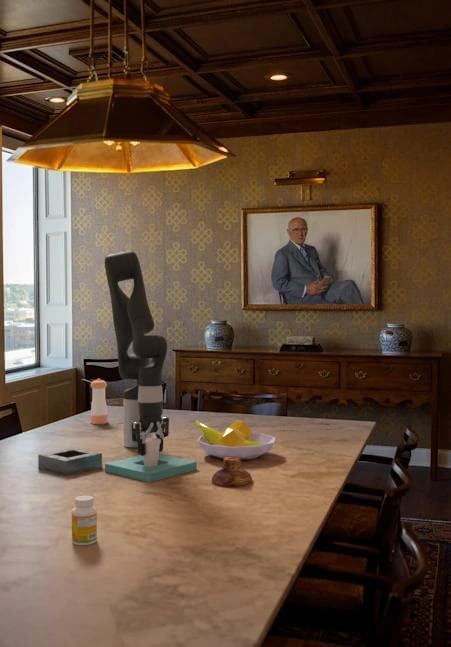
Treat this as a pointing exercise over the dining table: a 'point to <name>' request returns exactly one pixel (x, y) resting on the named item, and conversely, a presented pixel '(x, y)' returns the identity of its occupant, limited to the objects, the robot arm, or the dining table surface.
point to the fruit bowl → (234, 441)
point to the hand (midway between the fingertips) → (150, 453)
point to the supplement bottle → (84, 521)
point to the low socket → (150, 468)
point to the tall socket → (70, 461)
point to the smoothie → (151, 451)
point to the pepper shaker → (98, 402)
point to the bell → (232, 474)
